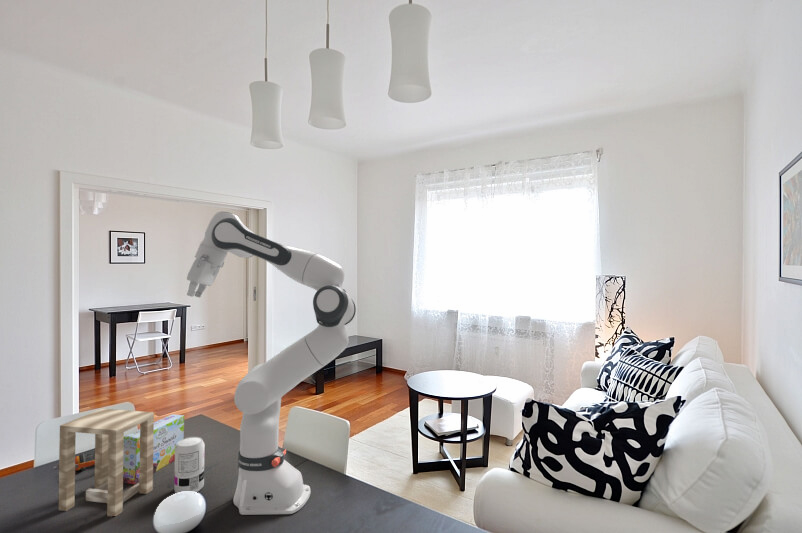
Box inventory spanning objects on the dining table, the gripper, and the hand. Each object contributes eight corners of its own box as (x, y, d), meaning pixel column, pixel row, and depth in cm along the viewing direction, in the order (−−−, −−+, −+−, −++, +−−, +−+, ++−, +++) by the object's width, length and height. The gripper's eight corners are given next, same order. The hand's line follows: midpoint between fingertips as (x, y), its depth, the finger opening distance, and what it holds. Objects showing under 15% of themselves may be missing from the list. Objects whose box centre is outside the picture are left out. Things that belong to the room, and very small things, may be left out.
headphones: (105, 441, 154) (129, 442, 144) (106, 456, 154) (130, 458, 143) (48, 459, 140) (70, 461, 130) (49, 475, 140) (71, 479, 129)
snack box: (136, 485, 129) (136, 438, 129) (121, 483, 131) (121, 436, 131) (184, 455, 150) (184, 414, 150) (171, 453, 151) (171, 412, 151)
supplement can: (168, 493, 125) (168, 444, 125) (190, 480, 133) (191, 434, 133) (187, 499, 122) (188, 449, 122) (209, 485, 130) (210, 438, 130)
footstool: (154, 488, 128) (155, 411, 128) (115, 516, 113) (116, 430, 113) (103, 483, 130) (104, 407, 130) (58, 510, 116) (59, 425, 116)
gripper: (213, 256, 128) (195, 298, 125) (225, 263, 147) (209, 300, 145) (192, 249, 127) (174, 292, 124) (207, 257, 146) (191, 294, 144)
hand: (193, 296), depth 135 cm, fingers open, 8 cm apart
